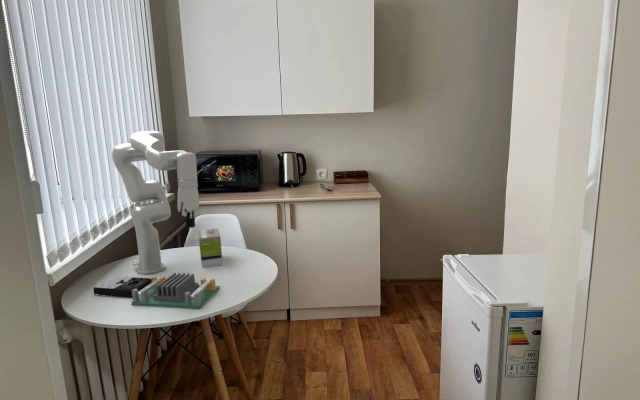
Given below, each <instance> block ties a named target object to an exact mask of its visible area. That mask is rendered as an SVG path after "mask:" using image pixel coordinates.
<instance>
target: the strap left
mask: <svg viewBox="0 0 640 400" xmlns="http://www.w3.org/2000/svg"><path fill="white" fill-rule="evenodd" d="M160 282H161V281H160V278H157V279H156V280H155V281H153V282H152V283H150V284H149V285H148V286H146V287H145V288H143V289H142V290H144V289H147V292H148V291H149V290H150V289H152V288H153V287H155V286H156V285H157V284H159V283H160ZM142 290H140V291H139V292H137V293H136V295H138V296H142V294H141V291H142Z"/></svg>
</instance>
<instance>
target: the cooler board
mask: <svg viewBox="0 0 640 400" xmlns="http://www.w3.org/2000/svg"><path fill="white" fill-rule="evenodd" d="M150 278H151V279H152V282H153V281H155V280H156V279H158V277H157V275H152V276H151V277H150ZM159 279H160V281H161V282H160V283H159V284H157V285H156V286H155V287H153V288H152V289H150V290H149V291H148V292H147V289H144V290H142V291H141V294H142V296H138V295H136V293H137V292H138V289H134V290H132V297H133V298H132V301H131V305H132V306H143V307H144V306H146V307H161V308H176V309H177V308H178V309H179V308H180V309H196V310H197V309H198V310H200V309H201V308H202V307H203V306H205V305H204V304H206V303H207V302H208V301H209V300H210V299H211V298H212V297H213V296H214V295H215V294H216V293H217V292H218V291H219V290H220V289H221V288H220V285H216V278H211V279H209V281H210V285H209V286H208V287H206V288H205V289H204V290H203V291H202V292H201V293H200V292H196V293H195V299H192V298H189V296H190V295H191V294H192V293H193V292H194V291H196V290H197V289H198V288H199V287H200V286H201V285H202V284H203V283H204V282H205V281H207V280H206V279H207V278H205V277H202V278H201V279H200V283H199V282H196V280H195V273H186V272H183V273H181V272H178V273H177V272H173V273H172V274H171V275H169V276H168V277H166V276H164V275H163V276H161V277H160V278H159Z"/></svg>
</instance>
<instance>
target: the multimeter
mask: <svg viewBox="0 0 640 400" xmlns="http://www.w3.org/2000/svg"><path fill="white" fill-rule="evenodd" d="M151 278H152V277H150V278H148V277H147V278H146V277H134V276H119V275H114V276H112V277H110V278H109V279H107V280H105V281H103V282H101V283H99V284H98V285H96V286H94V287H93V294H98V295H97V296H102V295H105V296H104V297H115V298H129V299H133V297H132V290H134V289H138V292H139V291H140V290H142V289H143V288H145V287H146V286H148V285H149V284H150V283H152V279H151Z"/></svg>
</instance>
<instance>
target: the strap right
mask: <svg viewBox="0 0 640 400" xmlns="http://www.w3.org/2000/svg"><path fill="white" fill-rule="evenodd" d="M200 285H201V284H200ZM209 285H210V280H206V281H205V282H204V283H203V284H202V285H201V286H200V287H199V288H198V289H197V290H196V291H194V292H193V293H192V294H191V295H190V296H189V298H192V299H195V293H196V292H200V293H201V292H202V291H203V290H204V289H205V288H206V287H208V286H209Z"/></svg>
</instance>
